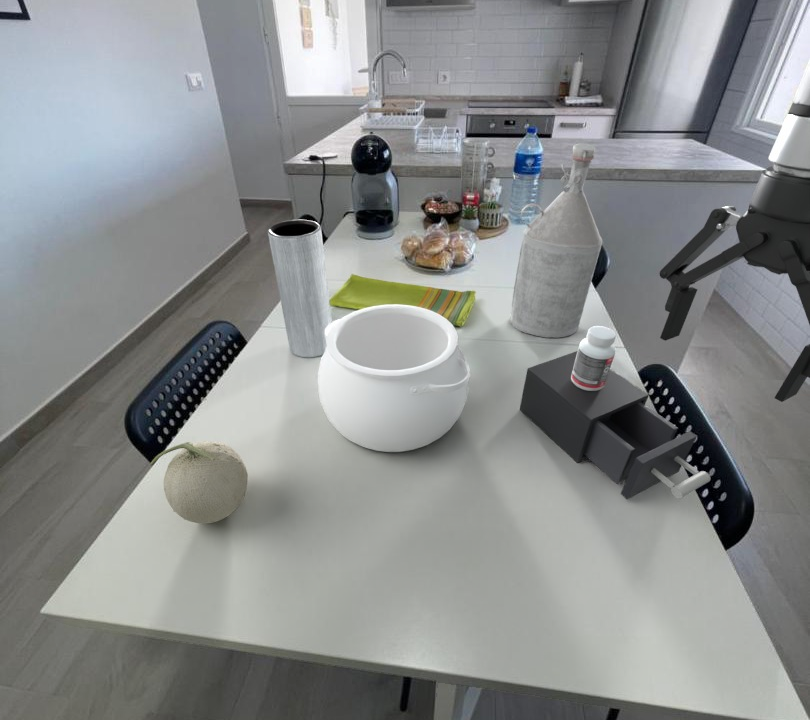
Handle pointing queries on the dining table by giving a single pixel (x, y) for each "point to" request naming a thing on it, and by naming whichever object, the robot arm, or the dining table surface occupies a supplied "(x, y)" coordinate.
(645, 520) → the dining table surface
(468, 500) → the dining table surface
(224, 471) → the fruit
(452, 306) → the dish towel
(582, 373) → the pill bottle
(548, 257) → the grey jug
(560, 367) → the grey drawer box
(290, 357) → the dining table surface
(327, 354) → the pot
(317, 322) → the vase
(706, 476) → the pulled-out drawer
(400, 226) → the dining table surface
